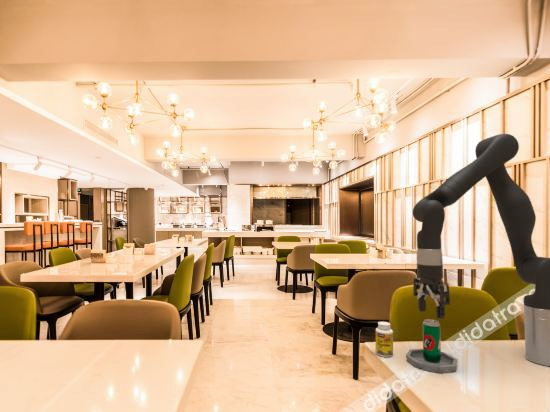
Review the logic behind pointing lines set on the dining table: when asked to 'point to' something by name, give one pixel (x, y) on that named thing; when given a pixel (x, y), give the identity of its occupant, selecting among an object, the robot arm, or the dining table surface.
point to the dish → (444, 366)
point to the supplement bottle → (384, 340)
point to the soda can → (431, 341)
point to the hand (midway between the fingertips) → (431, 314)
